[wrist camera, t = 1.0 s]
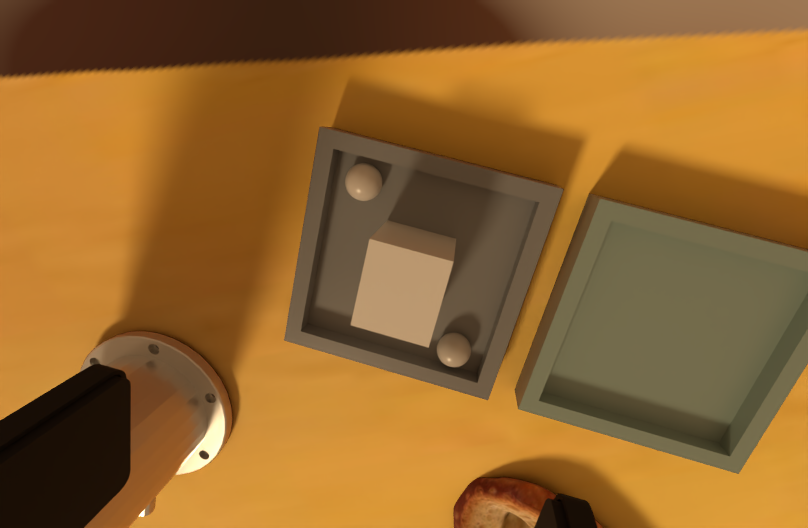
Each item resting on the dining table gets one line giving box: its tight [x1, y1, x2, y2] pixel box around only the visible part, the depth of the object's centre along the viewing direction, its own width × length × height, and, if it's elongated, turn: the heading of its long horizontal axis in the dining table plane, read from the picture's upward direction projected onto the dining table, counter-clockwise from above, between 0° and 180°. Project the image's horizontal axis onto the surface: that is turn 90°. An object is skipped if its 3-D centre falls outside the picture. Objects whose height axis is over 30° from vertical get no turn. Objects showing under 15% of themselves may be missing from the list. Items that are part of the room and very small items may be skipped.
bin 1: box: [284, 127, 564, 400], centre depth 27 cm, size 14×14×3 cm
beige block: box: [351, 220, 456, 348], centre depth 24 cm, size 5×4×5 cm
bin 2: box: [515, 194, 808, 474], centre depth 26 cm, size 14×14×2 cm
